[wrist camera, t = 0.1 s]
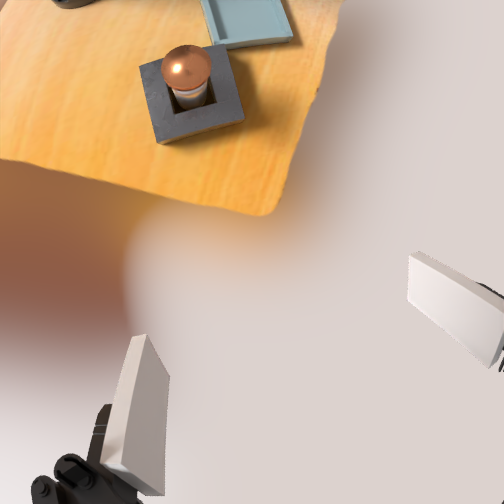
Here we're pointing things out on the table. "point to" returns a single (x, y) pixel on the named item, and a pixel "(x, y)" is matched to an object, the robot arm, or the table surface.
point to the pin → (187, 74)
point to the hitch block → (201, 118)
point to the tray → (246, 22)
